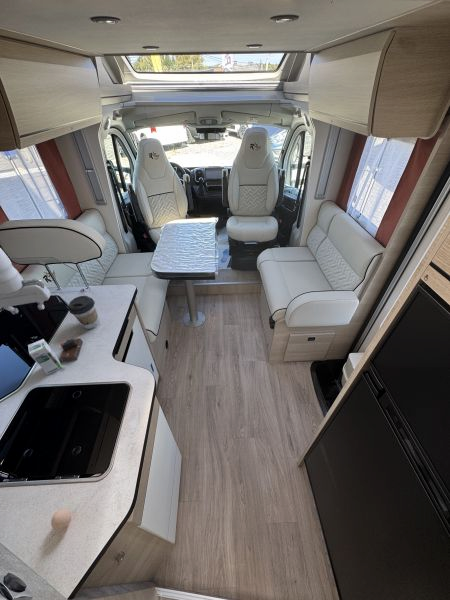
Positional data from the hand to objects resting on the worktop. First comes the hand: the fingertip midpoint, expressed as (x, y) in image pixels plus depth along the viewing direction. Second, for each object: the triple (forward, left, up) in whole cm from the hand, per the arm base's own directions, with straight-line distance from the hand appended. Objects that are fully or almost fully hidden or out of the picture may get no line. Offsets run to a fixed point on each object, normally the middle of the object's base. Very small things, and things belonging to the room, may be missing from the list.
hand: (29, 310), depth 100 cm
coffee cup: (+12, +13, -25) cm, 30 cm away
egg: (+22, -65, -25) cm, 73 cm away
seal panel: (+8, -3, -24) cm, 26 cm away
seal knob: (+8, -3, -21) cm, 23 cm away
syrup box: (+1, -10, -25) cm, 27 cm away
